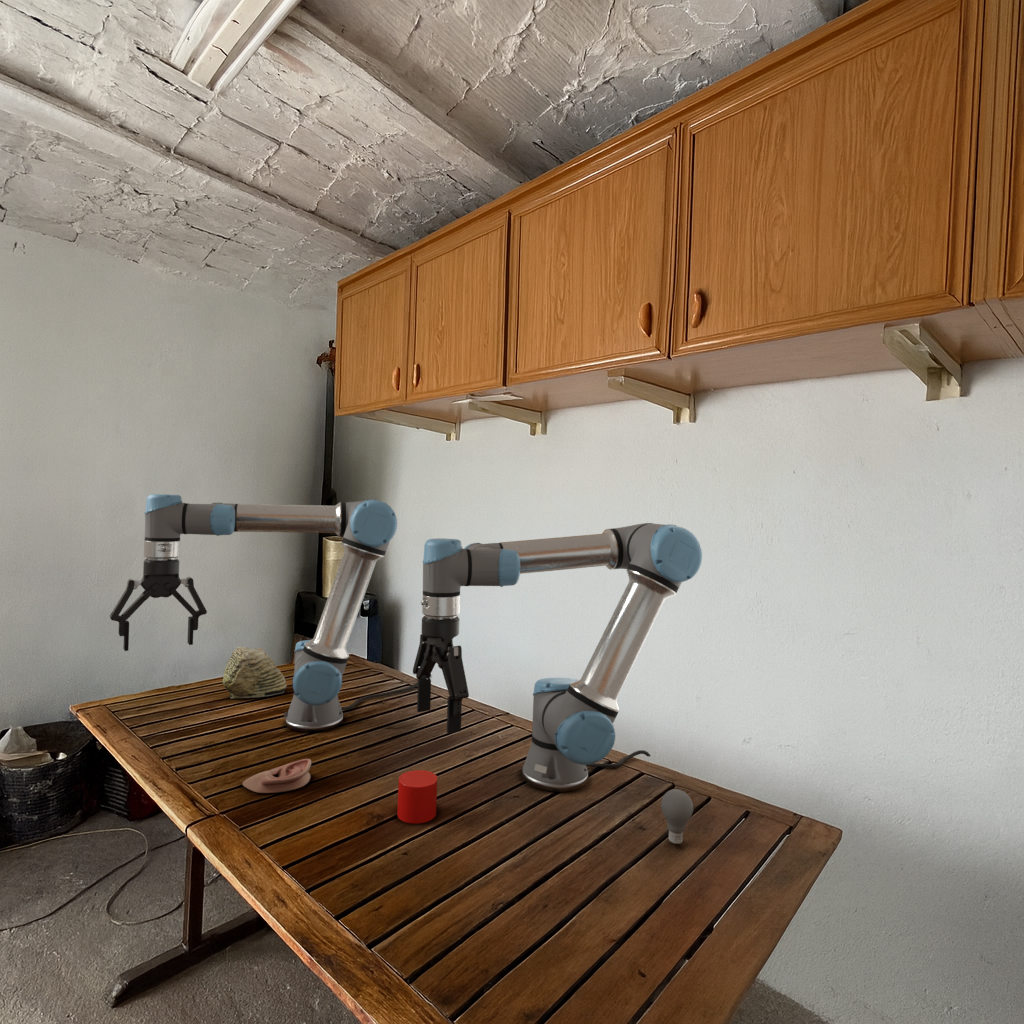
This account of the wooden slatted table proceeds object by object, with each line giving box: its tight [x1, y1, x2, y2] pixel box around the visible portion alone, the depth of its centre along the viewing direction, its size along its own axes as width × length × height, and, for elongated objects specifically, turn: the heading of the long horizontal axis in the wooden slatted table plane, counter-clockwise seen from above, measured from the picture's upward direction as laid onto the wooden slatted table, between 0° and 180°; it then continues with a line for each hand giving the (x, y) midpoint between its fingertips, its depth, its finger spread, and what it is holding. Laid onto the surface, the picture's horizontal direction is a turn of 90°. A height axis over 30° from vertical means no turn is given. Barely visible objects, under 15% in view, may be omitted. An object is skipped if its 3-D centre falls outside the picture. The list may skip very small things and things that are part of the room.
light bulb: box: [660, 788, 694, 845], centre depth 121 cm, size 6×6×10 cm
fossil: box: [222, 646, 288, 699], centre depth 198 cm, size 9×18×15 cm, turn 132°
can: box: [396, 769, 438, 825], centre depth 128 cm, size 8×8×7 cm
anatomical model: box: [241, 758, 312, 794], centre depth 139 cm, size 13×4×12 cm
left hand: (158, 646), depth 152 cm, fingers open, 13 cm apart
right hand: (438, 721), depth 127 cm, fingers open, 13 cm apart
